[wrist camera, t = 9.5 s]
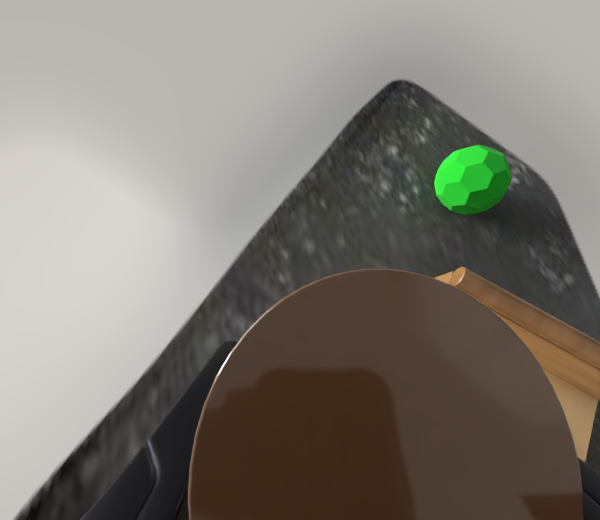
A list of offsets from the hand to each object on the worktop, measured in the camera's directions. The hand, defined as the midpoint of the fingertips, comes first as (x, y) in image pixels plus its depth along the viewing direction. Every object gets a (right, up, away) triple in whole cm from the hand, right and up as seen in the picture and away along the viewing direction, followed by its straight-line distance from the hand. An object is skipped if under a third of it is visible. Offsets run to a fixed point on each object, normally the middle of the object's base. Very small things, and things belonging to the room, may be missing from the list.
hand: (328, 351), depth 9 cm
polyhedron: (+12, +8, +16) cm, 21 cm away
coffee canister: (-1, -3, +4) cm, 5 cm away
